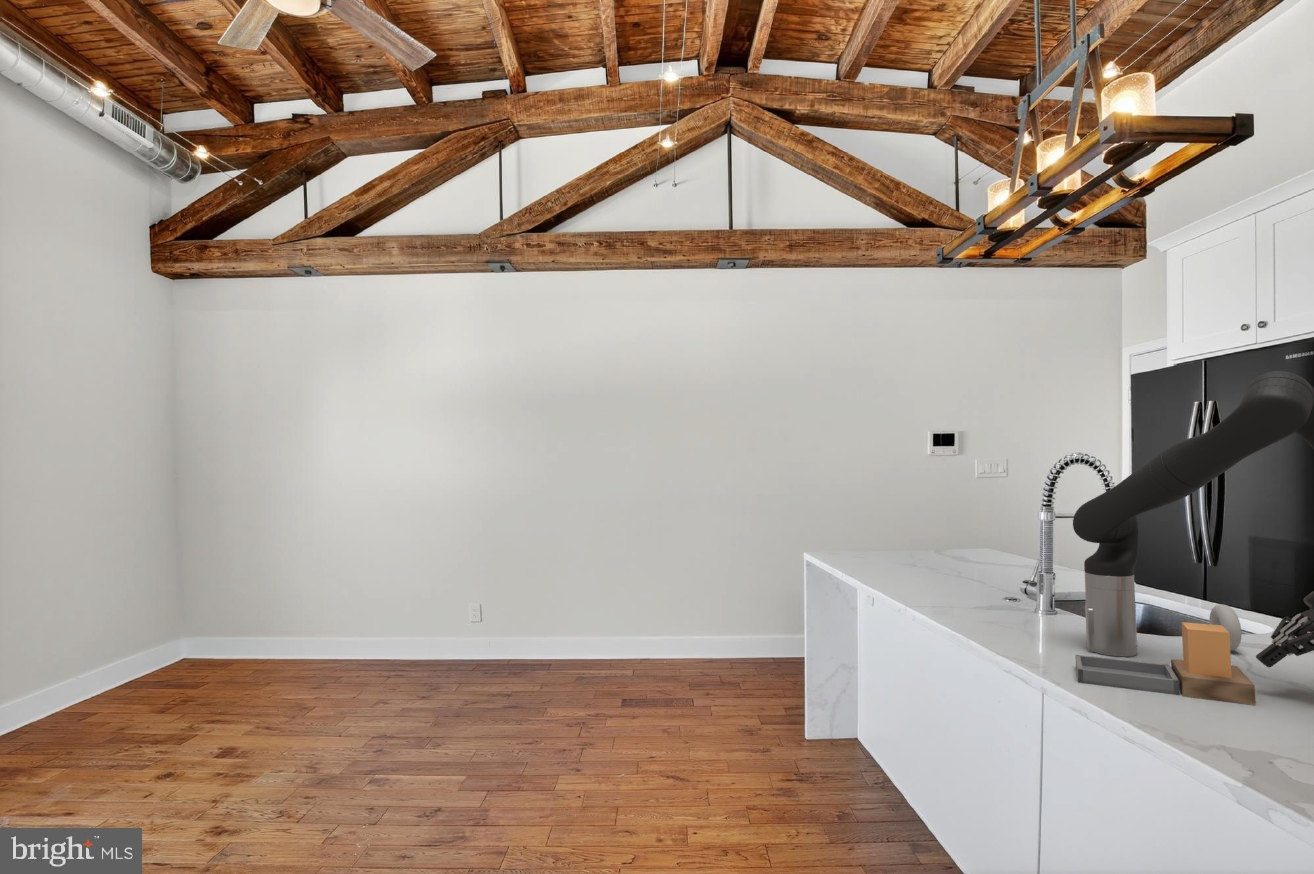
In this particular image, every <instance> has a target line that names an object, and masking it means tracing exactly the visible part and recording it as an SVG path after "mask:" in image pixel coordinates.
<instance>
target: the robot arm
mask: <svg viewBox="0 0 1314 874" xmlns="http://www.w3.org/2000/svg"><path fill="white" fill-rule="evenodd" d="M1295 433H1296V434H1298V435H1299V436H1300V437H1301V438H1302V439H1303V440H1304V441H1305V442H1306V443H1307V445H1309V446H1310V448H1312V449H1313V451H1314V386H1313V385H1311V383H1309V381H1307V380H1306V379H1305V378H1303V376H1300V375H1298V374H1296V373H1293V372H1290V371H1285V370H1275V371H1274V370H1273V371H1268V372H1264V373H1261V374H1260V375H1258V376H1256V377H1255V378H1253V380H1251V382H1249V384H1248V386H1247V388H1246V390H1245V392H1244V394H1243V397H1242V399H1241V402H1240V403H1239V404H1238V406H1237V407H1236V408H1235V409H1234V410H1233V411H1232V412H1231V413H1229V414H1228V415H1227V417H1225V418H1224V419H1222V420H1221V421H1220V422H1219V423H1218V424H1216V425H1214V427H1212V428H1211V429H1209V430H1207V431H1206V432H1204V433H1202V434H1199V435H1196V436H1192V437H1189V438H1186V439H1183V440H1181V441H1180V440H1179V441H1177V442H1176V443H1174V444H1172V445H1170V446H1169V447H1167V448H1165V449H1164V450H1162V451H1161V452H1160V453H1158V454H1156V456H1154V457H1153V458H1151V459H1149V461H1147V462H1146V463H1145V464H1144V465H1143V466H1141V467H1140V468H1139V469H1137V470H1135V471H1134V472H1132V473H1131V474H1130V475H1128V476H1126V478H1124V479H1123V480H1122V481H1120V482H1119V483H1117V484H1116V485H1115V486H1113V487H1112V488H1110V489H1109V490H1107V491H1104V493H1101V494H1099V495H1098V496H1095V497H1094V498H1092V499H1090V500H1088V501H1087V502H1085V503H1083V504H1081V505H1080V506H1079V508H1078V509H1077V510H1076V511H1075V514H1074V516H1073V518H1072V528H1073V531H1074V533H1075V534H1076V535H1077V536H1078V537H1079V538H1080V539H1081V540H1083V541H1086V542H1089V543H1094V544H1098V547H1097V550H1096V551H1095V552H1094V553H1093V554H1092V555H1090V556H1088V557H1087V558H1086V559H1084V562H1083V563H1084V567H1083V568H1084V589H1085V590H1084V591H1085V604H1084V606H1085V607H1084V610H1085V612H1084V613H1085V633H1086V634H1085V635H1086V647H1087V652H1091V653H1092V652H1093V653H1098V654H1101V655H1106V656H1113V657H1133V656H1137V655H1138V640H1137V638H1138V637H1137V615H1136V613H1137V612H1136V592H1135V591H1136V589H1135V588H1136V587H1135V585H1136V584H1135V567H1136V564H1137V562H1138V558H1139V557H1138V556H1139V521H1138V517H1137V516H1138V515H1141V514H1144V513H1147V512H1150V511H1152V510H1156V509H1158V508H1162V507H1164V506H1168V505H1170V504H1173V503H1175V502H1177V501H1180V500H1182V499H1184V498H1186V497H1188V496H1190V495H1192V494H1193V493H1194V492H1196V491H1198V490H1199V489H1201V488H1202V487H1204V486H1205V485H1207V484H1208V483H1210V482H1212V481H1213V480H1214V479H1217V477H1219V476H1220V475H1222V474H1224V473H1225V472H1227V471H1228V470H1229V469H1231V468H1232V467H1234V466H1236V465H1237V464H1238V463H1240V462H1241V461H1242V460H1244V459H1246V458H1247V457H1250V456H1252V455H1253V454H1255V453H1257V452H1259V451H1261V450H1263V449H1265V448H1267V447H1269V446H1271V445H1274V444H1276V443H1278V442H1280V441H1282V440H1283V439H1286V438H1288V437H1290V436H1291V435H1294V434H1295ZM1303 602H1304V604H1305V605H1306V606H1307V607H1308V609H1307V610H1305V611H1303V612H1300V613H1298V614H1296V615H1295V616H1293V617H1292V618H1290V617H1289V616H1285V617H1283V618H1282V619H1281V620H1280V622H1279V623H1278V625H1277V626H1276V628H1275V629H1274V631H1273V633H1272V634H1271V636H1270V638H1271V639H1272V640H1271V644H1270V645H1269V646H1267V647H1266V648H1264V649H1263V650H1262V651H1260V652H1259V653H1258V654H1256V655H1255V658H1256V659H1257V660H1258V661H1259V662H1260V663H1262V664H1263V665H1264V666H1266V668H1272V667H1273V666H1274V665H1276V664H1278V663H1279V662H1280V661H1281V660H1283V659H1284V658H1286V657H1287V656H1288V657H1289V656H1290V657H1291V656H1293V655H1294V656H1296V657H1299V656H1302V655H1305V654H1308V653H1311V652H1314V590H1313V591H1312V592H1310V593H1309V594H1308V595H1306V596H1305V597H1304V598H1303Z"/></svg>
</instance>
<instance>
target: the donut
mask: <svg viewBox="0 0 1314 874" xmlns="http://www.w3.org/2000/svg"><path fill="white" fill-rule="evenodd" d="M1208 621H1209V623H1208V624H1211V625H1222V626H1223V627H1224V628H1225V629H1226V630H1227V631H1228V632H1229V633H1230V652H1232V651H1235V650H1236V649H1238V648H1239V647H1240V645H1241V642H1242V627H1241V623H1240V619H1239V616H1238V614H1237V613H1236V612H1235V610H1234V609H1233V608H1232V607H1231V606H1230V605H1227V604H1222V603H1220V604H1219V603H1218V604H1216V605H1214V606H1213V607H1212V608H1211V610H1210V614H1209V620H1208Z"/></svg>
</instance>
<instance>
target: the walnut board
mask: <svg viewBox="0 0 1314 874" xmlns="http://www.w3.org/2000/svg"><path fill="white" fill-rule="evenodd" d="M1170 667H1171V669H1172V670H1173V672H1174V673H1175V675H1176V677H1177V678H1178V680H1179V687H1180V695H1182V697H1185V696H1186V698H1193V699H1201V700H1202V699H1203V700H1210V701H1217V702H1218V701H1219V702H1228V703H1235V704H1243V705H1248V706H1249V705H1251V706H1256V686H1255V685H1256V684H1254V683H1253V682H1252V680H1250V678H1249V677H1248V676H1247V675H1246V674H1245V673H1244V672H1243V670H1241V669H1240V667H1238V665H1231V674H1232V678H1229V677H1220V676H1211V675H1202V674H1193V673H1189V672H1188V670H1187V669H1186V667H1185V666H1184V664H1183V659H1181V660H1180V659H1173V658H1172V659H1170Z"/></svg>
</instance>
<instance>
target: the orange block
mask: <svg viewBox="0 0 1314 874" xmlns="http://www.w3.org/2000/svg"><path fill="white" fill-rule="evenodd" d="M1181 637H1182V660H1183V664H1184V666H1185V667H1186V669H1187V670H1188V672H1189V673H1193V674H1202V675H1211V676H1220V677H1229V678H1232V674H1231V666H1232V658H1231V657H1232V656H1231V653H1232V651H1230V633H1229V632H1228V631H1227V630H1226V629H1225V628H1224V627H1223V626H1222V625H1211V624H1210V623H1197V622H1186V621H1185V622H1184V621H1183V622H1181Z"/></svg>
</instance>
